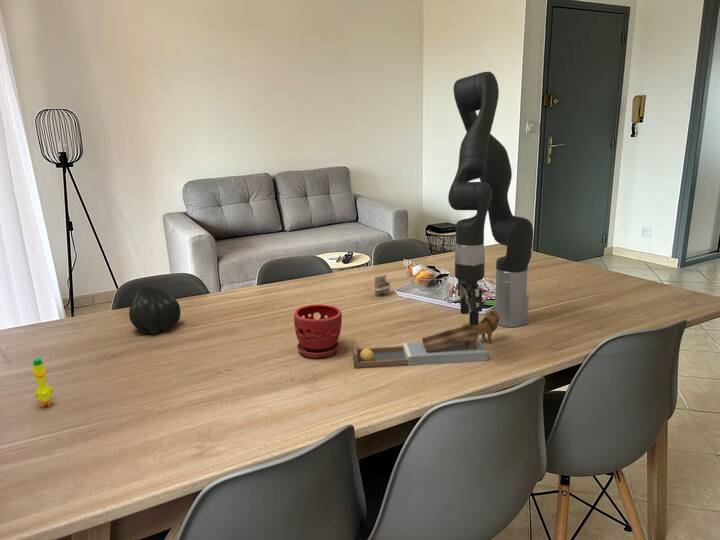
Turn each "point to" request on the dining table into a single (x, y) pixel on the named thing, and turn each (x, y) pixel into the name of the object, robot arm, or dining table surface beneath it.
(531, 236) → the robot arm
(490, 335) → the lion figurine
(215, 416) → the dining table surface
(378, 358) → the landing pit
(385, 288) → the architectural model
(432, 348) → the ramp
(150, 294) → the squash
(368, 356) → the ball
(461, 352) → the deck
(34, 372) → the toy figure
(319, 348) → the plant pot
